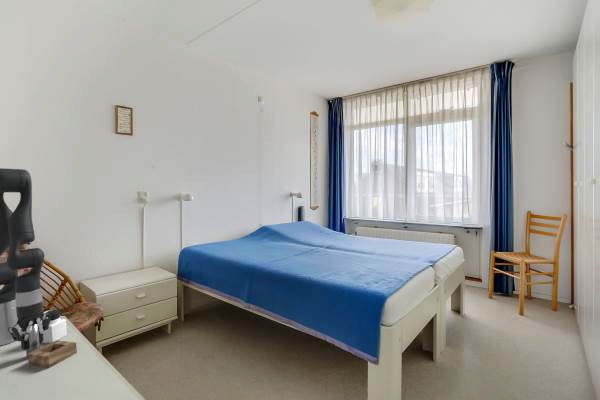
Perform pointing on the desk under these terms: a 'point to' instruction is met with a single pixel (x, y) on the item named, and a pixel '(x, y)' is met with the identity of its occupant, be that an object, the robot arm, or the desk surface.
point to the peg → (33, 339)
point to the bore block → (52, 353)
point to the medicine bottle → (54, 327)
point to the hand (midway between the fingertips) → (32, 346)
